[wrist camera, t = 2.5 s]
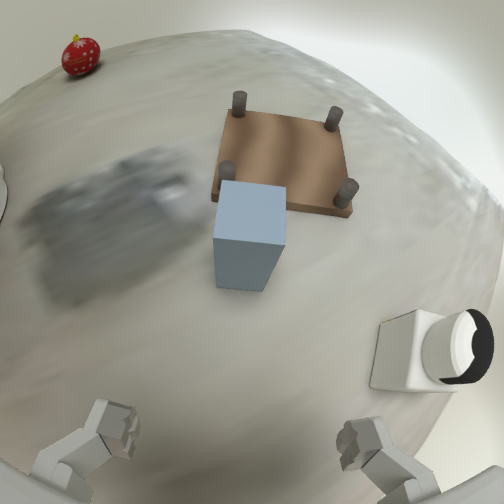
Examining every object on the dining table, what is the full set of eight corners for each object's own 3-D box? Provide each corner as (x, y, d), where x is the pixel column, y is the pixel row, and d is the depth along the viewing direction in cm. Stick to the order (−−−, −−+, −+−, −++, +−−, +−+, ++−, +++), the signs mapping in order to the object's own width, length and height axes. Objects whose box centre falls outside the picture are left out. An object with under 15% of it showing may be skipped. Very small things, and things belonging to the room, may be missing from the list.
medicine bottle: (427, 333, 27) (502, 308, 16) (418, 392, 25) (497, 389, 14) (379, 322, 28) (454, 291, 17) (367, 387, 25) (446, 389, 14)
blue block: (216, 287, 27) (213, 237, 17) (221, 245, 29) (221, 180, 19) (262, 291, 28) (285, 245, 18) (264, 249, 30) (285, 187, 19)
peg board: (211, 201, 31) (210, 173, 27) (228, 116, 37) (229, 89, 33) (347, 218, 32) (365, 194, 28) (335, 132, 38) (346, 108, 34)
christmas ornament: (61, 86, 40) (48, 49, 31) (77, 65, 43) (68, 31, 34) (94, 79, 40) (83, 39, 31) (109, 59, 44) (102, 22, 35)
